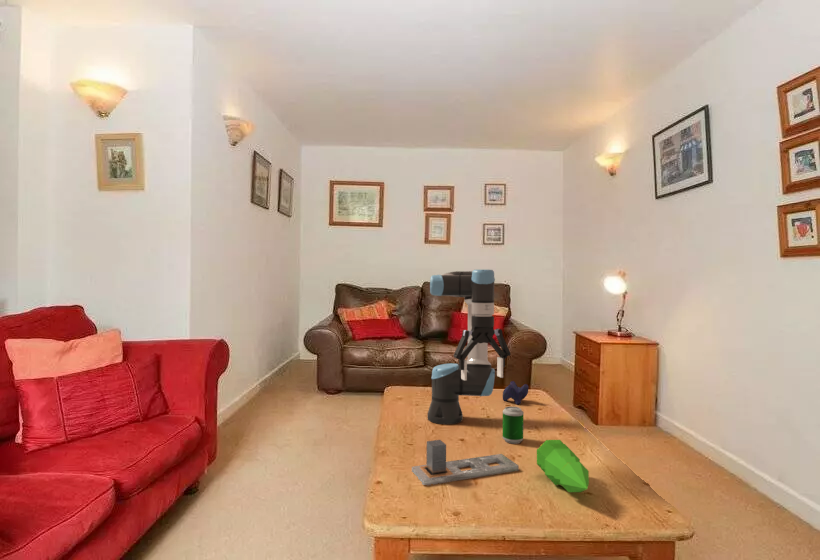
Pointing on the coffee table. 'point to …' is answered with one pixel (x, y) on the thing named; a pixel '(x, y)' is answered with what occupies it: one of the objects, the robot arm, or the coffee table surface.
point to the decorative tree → (562, 466)
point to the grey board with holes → (478, 470)
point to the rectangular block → (436, 457)
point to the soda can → (513, 425)
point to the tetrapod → (515, 392)
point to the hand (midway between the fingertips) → (482, 378)
